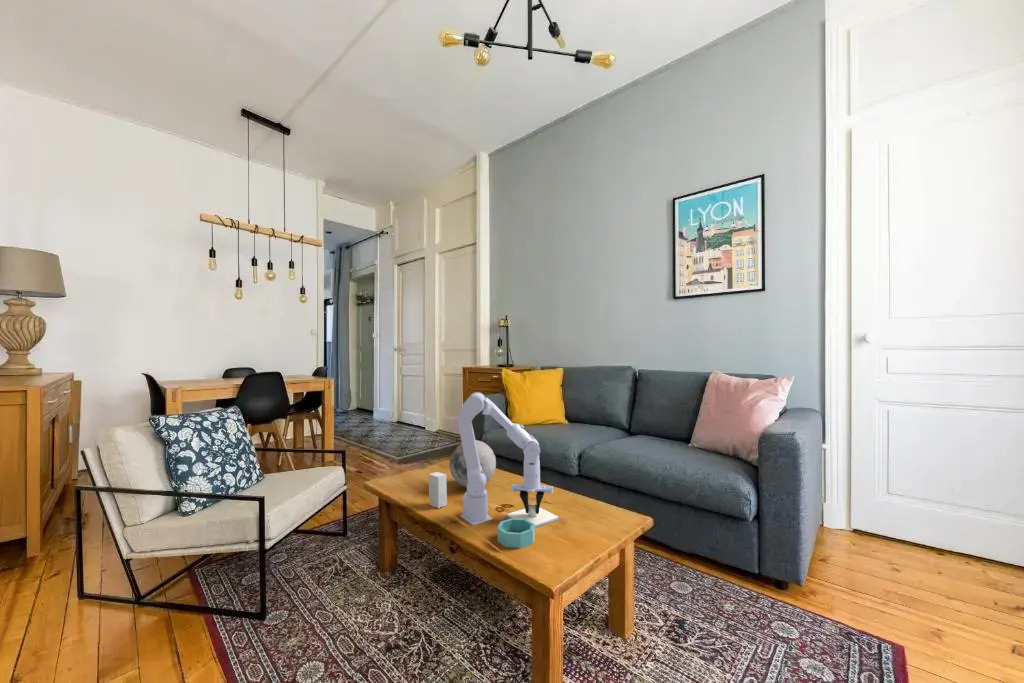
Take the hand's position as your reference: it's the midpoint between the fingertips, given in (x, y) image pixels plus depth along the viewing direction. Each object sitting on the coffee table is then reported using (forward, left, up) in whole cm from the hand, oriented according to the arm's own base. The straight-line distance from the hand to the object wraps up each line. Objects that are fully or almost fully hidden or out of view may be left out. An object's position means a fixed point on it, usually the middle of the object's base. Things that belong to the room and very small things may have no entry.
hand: (532, 512), depth 145 cm
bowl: (+10, -14, -2) cm, 17 cm away
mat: (0, 0, -2) cm, 2 cm away
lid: (0, 0, -2) cm, 2 cm away
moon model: (-41, -1, -2) cm, 41 cm away
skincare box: (-31, -22, -2) cm, 38 cm away
